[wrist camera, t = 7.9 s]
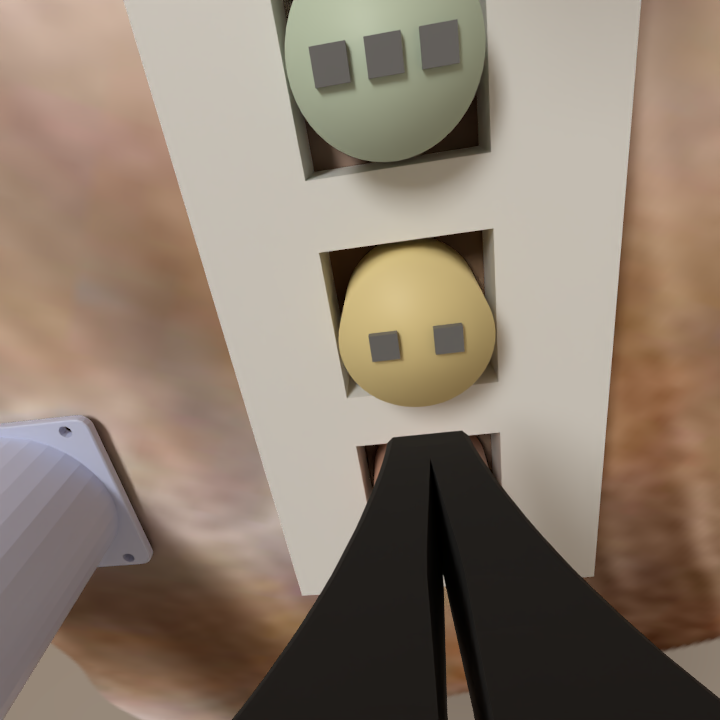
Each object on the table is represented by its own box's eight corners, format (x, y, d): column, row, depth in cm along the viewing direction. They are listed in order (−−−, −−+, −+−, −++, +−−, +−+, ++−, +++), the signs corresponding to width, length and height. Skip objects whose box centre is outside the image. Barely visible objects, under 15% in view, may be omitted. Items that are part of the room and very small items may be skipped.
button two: (356, 365, 18) (351, 417, 15) (336, 245, 16) (324, 279, 13) (480, 351, 18) (499, 402, 15) (473, 226, 16) (494, 256, 13)
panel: (308, 557, 23) (302, 595, 22) (119, -122, 13) (75, -159, 11) (576, 538, 22) (594, 576, 20) (622, -239, 11) (665, -301, 10)
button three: (321, 160, 15) (305, 176, 12) (289, -18, 13) (261, -52, 10) (469, 137, 15) (490, 147, 12) (460, -52, 13) (482, -97, 10)
